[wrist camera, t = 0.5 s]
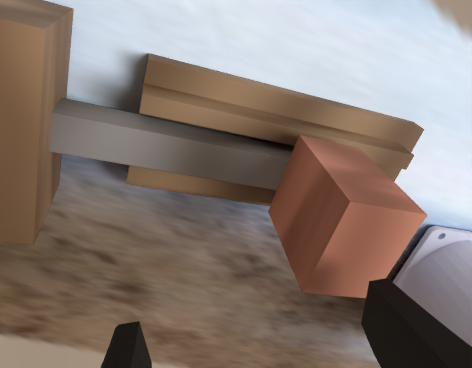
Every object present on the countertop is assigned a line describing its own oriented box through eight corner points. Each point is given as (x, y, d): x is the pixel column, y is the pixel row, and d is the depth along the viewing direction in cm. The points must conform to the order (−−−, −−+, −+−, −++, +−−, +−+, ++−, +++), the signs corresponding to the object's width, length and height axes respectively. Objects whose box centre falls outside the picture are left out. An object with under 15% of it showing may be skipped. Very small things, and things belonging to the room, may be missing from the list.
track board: (413, 121, 20) (441, 141, 18) (363, 212, 23) (382, 237, 21) (148, 53, 16) (147, 68, 14) (126, 173, 19) (123, 200, 17)
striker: (361, 89, 18) (473, 165, 12) (300, 220, 22) (360, 333, 15) (14, -8, 14) (-112, 30, 7) (12, 177, 17) (-73, 311, 11)
